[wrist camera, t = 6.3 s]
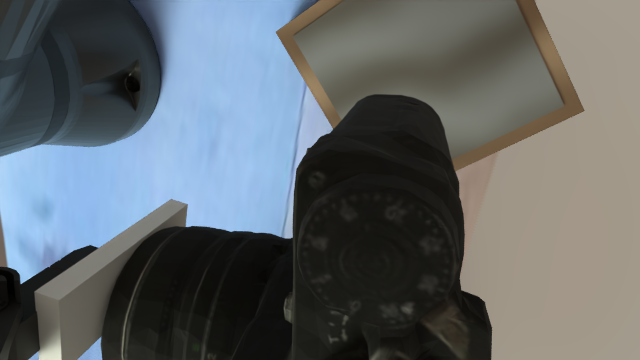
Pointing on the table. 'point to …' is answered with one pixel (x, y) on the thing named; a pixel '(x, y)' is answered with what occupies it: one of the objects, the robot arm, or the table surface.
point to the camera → (319, 262)
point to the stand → (438, 65)
